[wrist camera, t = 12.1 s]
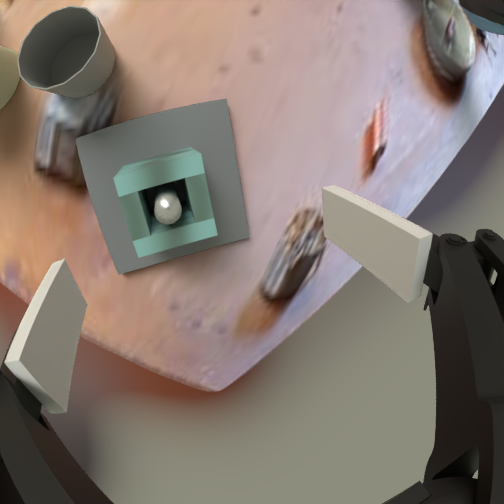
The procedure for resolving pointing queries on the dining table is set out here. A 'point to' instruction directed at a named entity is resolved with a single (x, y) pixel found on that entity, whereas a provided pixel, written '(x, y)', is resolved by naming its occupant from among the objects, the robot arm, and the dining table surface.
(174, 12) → the dining table surface
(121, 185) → the bead
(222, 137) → the board
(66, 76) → the cup
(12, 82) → the can
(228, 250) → the dining table surface
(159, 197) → the rod
